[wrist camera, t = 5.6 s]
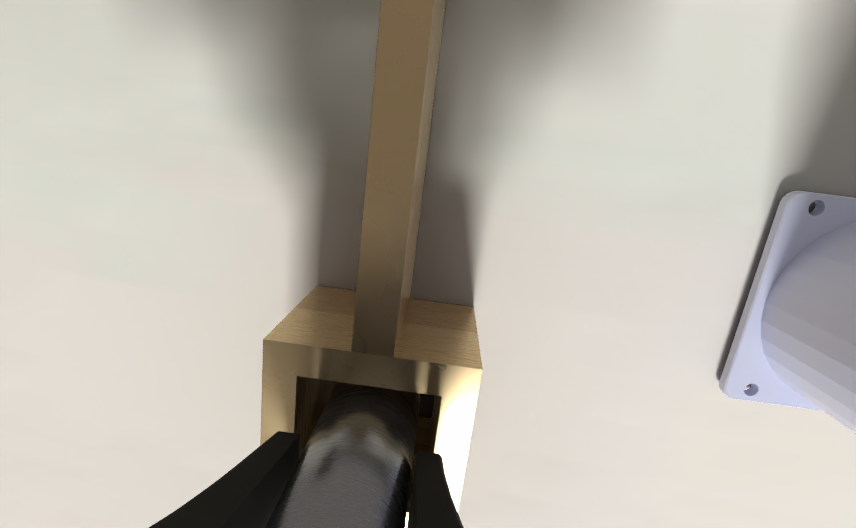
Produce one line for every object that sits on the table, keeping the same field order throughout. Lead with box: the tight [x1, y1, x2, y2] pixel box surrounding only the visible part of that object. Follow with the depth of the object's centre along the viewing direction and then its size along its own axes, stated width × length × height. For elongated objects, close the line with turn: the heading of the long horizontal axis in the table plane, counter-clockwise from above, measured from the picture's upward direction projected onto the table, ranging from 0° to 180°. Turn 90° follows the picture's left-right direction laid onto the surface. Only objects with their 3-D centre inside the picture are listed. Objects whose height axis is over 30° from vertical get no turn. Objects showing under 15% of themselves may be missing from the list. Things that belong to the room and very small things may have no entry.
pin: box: [265, 382, 420, 528], centre depth 12 cm, size 3×3×7 cm
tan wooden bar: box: [260, 0, 482, 528], centre depth 15 cm, size 6×28×5 cm, turn 173°
